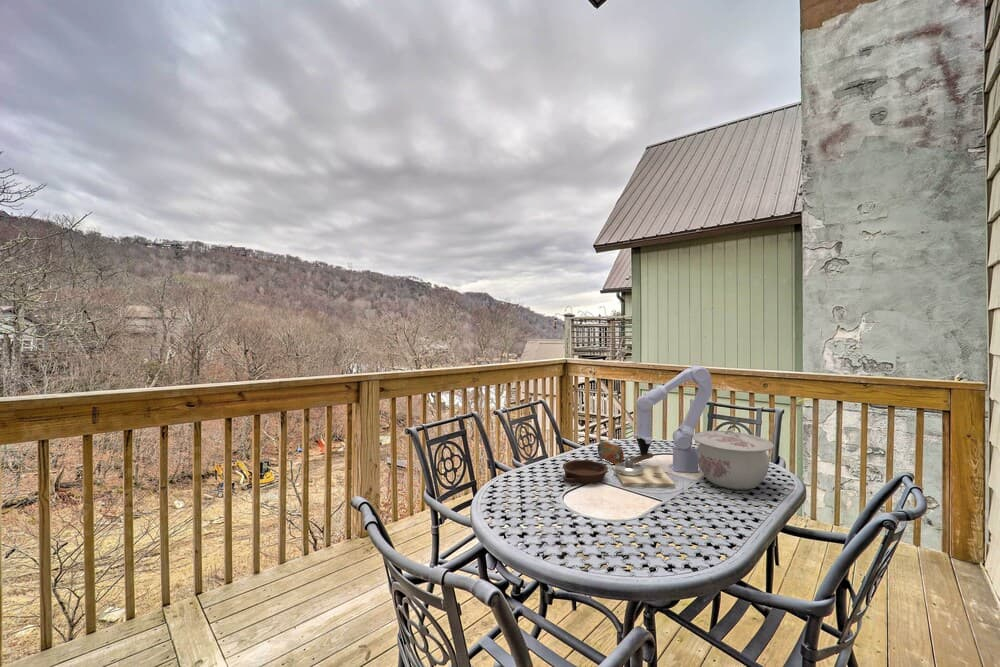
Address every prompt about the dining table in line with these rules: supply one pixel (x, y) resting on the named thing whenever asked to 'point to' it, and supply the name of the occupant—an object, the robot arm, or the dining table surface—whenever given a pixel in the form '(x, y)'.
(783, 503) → the dining table surface
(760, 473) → the chamber pot
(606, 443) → the tin
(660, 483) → the record player
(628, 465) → the metal disc with handle
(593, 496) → the dining table surface
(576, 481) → the dish
